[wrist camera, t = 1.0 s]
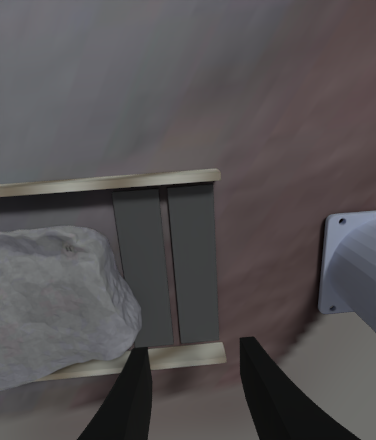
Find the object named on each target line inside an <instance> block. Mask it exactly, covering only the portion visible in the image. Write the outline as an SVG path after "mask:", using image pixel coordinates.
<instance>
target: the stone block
mask: <svg viewBox="0 0 376 440" xmlns="http://www.w3.org/2000/svg"><path fill="white" fill-rule="evenodd" d="M141 328H142V317H141V307H140V305H139V303H138V301H137V300H136V298H135V297H134V296H133V293H132V291H131V289H130V287H129V285H128V284H127V282H126V281H125V280H124V279H123V278H122V276H121V275H120V273H119V271H118V269H117V266H116V262H115V257H114V254H113V251H112V249H111V246H110V244H109V241H108V239H107V237H106V236H105V235H102V234H101V233H99V232H97V231H95V230H93V229H90V228H87V227H77V226H70V225H65V226H55V227H47V228H41V229H33V230H30V229H29V230H16V231H12V232H0V391H3V390H7V389H10V388H14V387H17V386H20V385H23V384H26V383H30V382H32V381H35V380H37V379H40V378H42V377H45V376H47V375H49V374H51V373H53V372H55V371H57V370H59V369H61V368H64V367H66V366H69V365H72V364H75V363H83V362H87V361H89V360H92V359H96V360H104V361H109V360H113V359H115V358H118V357H120V356H122V355H123V354H124V353H125V352H126V351H127V350H128V349H129V348H130V347H131V346H132V344H133V343H134V341H135V339H136V336H137V334H138V332H139V331H140V330H141Z"/></svg>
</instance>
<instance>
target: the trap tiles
mask: <svg viewBox="0 0 376 440" xmlns="http://www.w3.org/2000/svg"><path fill="white" fill-rule="evenodd" d="M167 191H168V202H169V213H170V224H171V235H172V247H173V258H174V269H175V280H176V291H177V302H178V314H179V325H180V336H181V344H183V343H193V342H204V341H214V340H219V324H218V298H217V272H216V245H215V219H214V193H213V184H206V185H192V186H179V187H167ZM112 199H113V206H114V212H115V219H116V225H117V232H118V238H119V245H120V251H121V258H122V265H123V271H124V278H125V281H126V282H127V284H128V285H129V287H130V289H131V291H132V293H133V296H134V297H135V298H136V300H137V301H138V303H139V305H140V307H141V317H142V328H141V330H140V331H139V332H138V334H137V336H136V339H135V341H134V343H135V348H138V347H151V346H162V345H172V344H174V341H173V331H172V321H171V311H170V301H169V291H168V281H167V271H166V261H165V251H164V241H163V231H162V221H161V211H160V201H159V191H158V188H153V189H140V190H127V191H113V192H112Z"/></svg>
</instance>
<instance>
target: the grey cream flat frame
mask: <svg viewBox="0 0 376 440" xmlns="http://www.w3.org/2000/svg"><path fill="white" fill-rule="evenodd" d="M218 180H221V172H220V171H219V170H218V169H217V168H216V169H203V170H189V171H176V172H162V173H149V174H135V175H122V176H108V177H95V178H81V179H68V180H54V181H41V182H27V183H14V184H0V197H6V196H19V195H32V194H46V193H59V192H72V191H85V190H99V189H112V188H125V187H138V186H152V185H165V184H178V183H191V182H205V181H218ZM130 353H131V351H126V352H125V353H124V354H123V355H122V356H120V357H118V358H115V359H113V360H109V361H104V360H96V359H92V360H89V361H87V362H83V363H75V364H72V365H69V366H66V367H64V368H61V369H59V370H57V371H55V372H53V373H51V374H49V375H47V376H45V377H42V378H40V379H37V380H35V381H45V380H55V379H65V378H75V377H86V376H96V375H106V374H116V373H121V371H122V369H123V367H124V365H125V363H126V361H127V359H128V357H129V355H130ZM148 354H149V361H150V369H151V370H157V369H167V368H177V367H188V366H198V365H208V364H218V363H226V355H225V351H224V347H223V343H222V342H219V343H208V344H198V345H187V346H177V347H166V348H156V349H148ZM35 381H32V382H35Z"/></svg>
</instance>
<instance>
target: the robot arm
mask: <svg viewBox="0 0 376 440" xmlns="http://www.w3.org/2000/svg"><path fill="white" fill-rule="evenodd" d="M342 218H343V221H342V222H341V223H340V224H339V220H340V219H342ZM331 306H333V307H332V308H330V307H331ZM318 309H319V311H320V312H321V313H322V314H333V313H344V312H355V313H356V314H357V315H358V316H359V317H361V318H362V319H363V320H364V321H365V322H366V323H367V324H368V325H369V326H370V327H371V328H372V329H373V330H374V331H375V332H376V211H365V212H353V213H340V214H332V215H330V216H328V217H327V219H326V223H325V234H324V245H323V256H322V267H321V278H320V289H319V300H318ZM240 375H241V380H242V384H243V389H244V393H245V397H246V401H247V404H248V407H249V410H250V413H251V416H252V419H253V422H254V425H255V427H256V430H257V433H258V436H259V439H260V440H361V439H359V438H357V437H356V436H355V435H354V434H352V433H351V432H350V431H348V430H347V429H346V428H344V427H343V426H342V425H340V424H339V423H338V422H336V421H335V420H334V419H333V418H331V417H330V416H329V415H328V414H327V413H325V412H324V411H323V410H322V409H321V408H320V407H318V406H317V405H316V404H315V403H314V402H313V401H312V400H311V399H309V398H308V397H307V396H306V395H305V394H304V393H303V392H302V391H301V390H300V389H299V388H298V387H297V386H296V385H295V384H294V383H293V382H292V381H291V380H290V379H289V378H288V377H287V376H286V374H285V373H284V372H283V371H282V370H281V369H280V368H279V367H278V366H277V365H276V363H275V362H274V361H273V360H272V359H271V357H270V356H269V355H268V354H267V353H266V351H265V350H264V349H263V348H262V346H261V345H260V344H259V342H258V341H257V340H256V338H254V337H243V338H240ZM151 408H152V376H151V369H150V361H149V354H148V347H138V348H133V349H132V350H131V353H130V355H129V357H128V359H127V361H126V363H125V365H124V367H123V369H122V371H121V373H120V375H119V377H118V379H117V380H116V382H115V384H114V386H113V387H112V389H111V391H110V393H109V394H108V396H107V397H106V399H105V400H104V402H103V404H102V405H101V407H100V408H99V410H98V411H97V413H96V414H95V416H94V417H93V419H92V420H91V422H90V423H89V424H88V426H87V427H86V428H85V430H84V431H83V433H82V434H81V435H80V436H79V438H78V439H77V440H147V439H148V431H149V424H150V416H151Z"/></svg>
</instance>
